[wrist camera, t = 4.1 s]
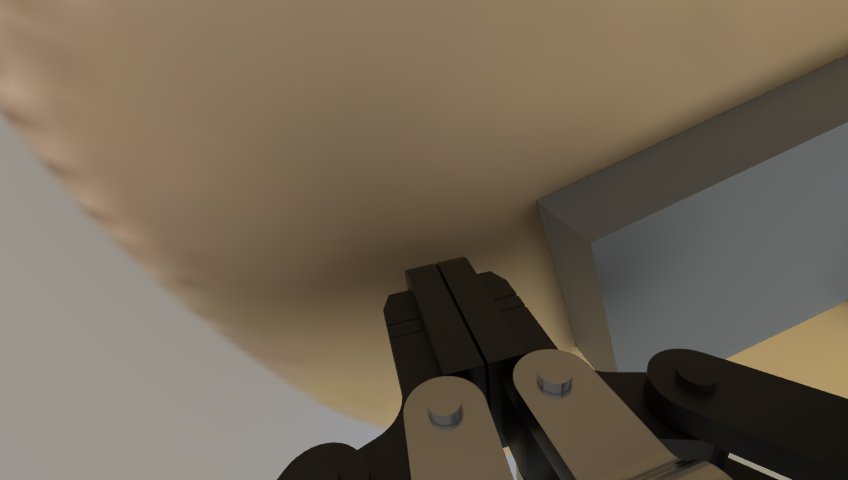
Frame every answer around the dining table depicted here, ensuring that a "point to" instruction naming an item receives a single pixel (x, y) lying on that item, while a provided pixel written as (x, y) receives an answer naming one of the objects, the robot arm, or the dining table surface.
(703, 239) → the grey rectangular block
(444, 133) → the dining table surface
